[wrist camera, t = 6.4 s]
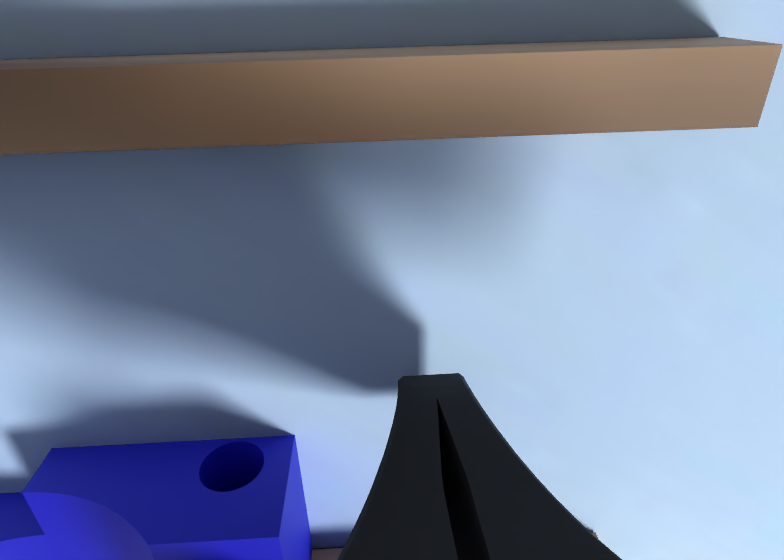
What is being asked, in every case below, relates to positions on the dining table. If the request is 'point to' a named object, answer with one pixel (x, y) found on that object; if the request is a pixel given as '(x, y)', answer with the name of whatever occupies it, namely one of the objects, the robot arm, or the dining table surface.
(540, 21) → the dining table surface
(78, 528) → the cable clip
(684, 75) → the guide lane
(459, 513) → the robot arm
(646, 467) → the dining table surface
